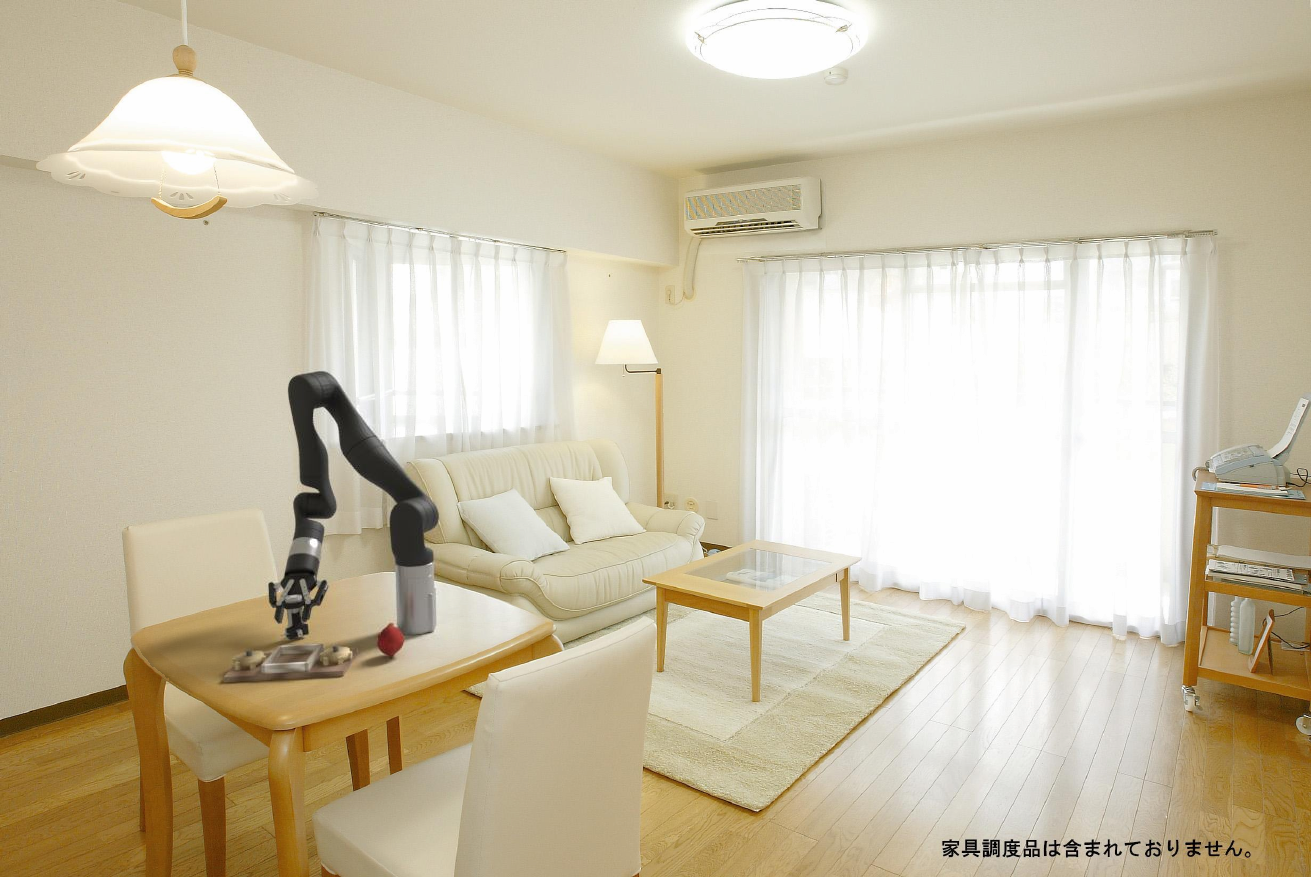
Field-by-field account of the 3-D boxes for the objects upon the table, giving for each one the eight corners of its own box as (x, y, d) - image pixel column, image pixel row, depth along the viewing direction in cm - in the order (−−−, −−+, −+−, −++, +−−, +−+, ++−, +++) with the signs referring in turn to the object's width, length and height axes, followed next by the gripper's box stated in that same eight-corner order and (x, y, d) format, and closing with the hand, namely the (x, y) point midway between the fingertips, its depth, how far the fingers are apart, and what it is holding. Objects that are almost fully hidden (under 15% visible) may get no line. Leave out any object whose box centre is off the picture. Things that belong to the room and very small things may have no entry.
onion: (388, 663, 172) (387, 628, 171) (372, 658, 175) (370, 623, 174) (409, 655, 177) (408, 621, 176) (392, 650, 180) (392, 616, 179)
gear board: (358, 653, 177) (358, 635, 177) (345, 676, 165) (344, 657, 164) (244, 659, 174) (243, 641, 173) (221, 682, 161) (220, 663, 160)
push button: (287, 643, 181) (283, 602, 181) (275, 640, 184) (271, 599, 183) (313, 634, 187) (310, 594, 186) (300, 631, 190) (297, 592, 189)
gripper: (269, 553, 190) (254, 616, 179) (330, 550, 192) (319, 613, 182) (277, 568, 196) (263, 630, 185) (336, 565, 198) (326, 627, 187)
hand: (291, 621), depth 183 cm, fingers closed on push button, 5 cm apart
